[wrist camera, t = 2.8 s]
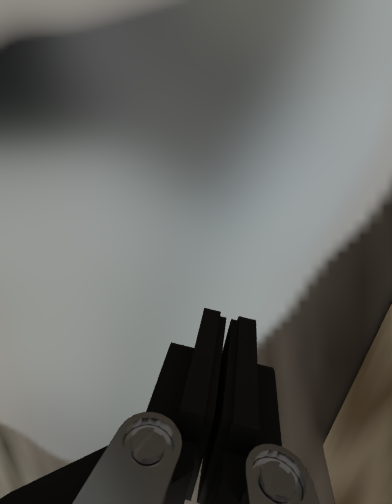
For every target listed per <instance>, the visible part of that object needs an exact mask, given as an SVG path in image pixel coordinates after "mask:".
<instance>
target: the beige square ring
mask: <svg viewBox="0 0 392 504" xmlns="http://www.w3.org/2000/svg"><path fill="white" fill-rule="evenodd" d="M323 449H324V454H325V458H326V463H327V468H328V472H329V477H330V481H331V486H332V490H333V495H334V500H335V504H392V304H391V306H390V308H389V310H388V312H387V314H386V316H385V318H384V320H383V322H382V324H381V327H380V329H379V331H378V333H377V335H376V337H375V339H374V341H373V343H372V345H371V347H370V349H369V351H368V353H367V355H366V358H365V360H364V362H363V364H362V366H361V368H360V370H359V372H358V374H357V376H356V378H355V380H354V382H353V384H352V386H351V388H350V391H349V393H348V395H347V397H346V399H345V401H344V403H343V405H342V407H341V409H340V411H339V413H338V415H337V417H336V419H335V422H334V424H333V426H332V428H331V430H330V432H329V434H328V436H327V438H326V440H325V442H324V444H323Z"/></svg>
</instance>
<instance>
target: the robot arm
mask: <svg viewBox="0 0 392 504" xmlns="http://www.w3.org/2000/svg"><path fill="white" fill-rule="evenodd" d="M220 313H221V312H219V311H215V310H211V309H207V308H204V311H203V316H202V320H201V324H200V328H199V332H198V336H197V340H196V344H195V348H192V347H188V346H184V345H179V344H175V343H171V344H170V347H169V349H168V352H167V355H166V358H165V360H164V363H163V366H162V369H161V372H160V374H159V377H158V380H157V383H156V386H155V389H154V391H153V394H152V397H151V400H150V402H149V405H148V408H147V411H146V412H143V413H139V414H135V415H133V416H132V417H130V418H128V419H127V420H126V421H125V422H124V423H123V424H122V425H121V427H120V428H119V429H118V431H117V433H116V434H115V436H114V438H113V439H112V441H111V442H110V444H109V445H108V446H106V447H104V448H102V449H100V450H98V451H95V452H93V453H91V454H89V455H87V456H85V457H83V458H81V459H79V460H77V461H75V462H73V463H70V464H68V465H66V466H64V467H62V468H60V469H58V470H56V471H54V472H52V473H50V474H48V475H45V476H43V477H41V478H39V479H37V480H35V481H33V482H31V483H29V484H27V485H25V486H23V487H20V488H18V489H16V490H14V491H12V492H10V493H9V494H7V495H5V496H4V497H2V498H1V499H0V504H184V501H185V499H186V500H189V501H191V498H192V494H193V491H194V487H195V484H196V480H197V477H198V473H199V470H200V466H201V463H202V469H201V476H200V483H199V490H198V497H197V503H200V504H319V501H318V498H317V495H316V491H315V488H314V485H313V482H312V479H311V477H310V474H309V472H308V470H307V468H306V467H305V466H304V464H303V463H302V462H301V460H300V459H299V458H298V457H297V456H295V455H294V454H293V453H292V452H291V451H289V450H287V449H285V448H283V447H282V442H281V432H280V422H279V411H278V401H277V391H276V381H275V372H274V369H273V368H271V367H267V366H263V365H259V364H257V335H256V320H252V319H248V318H244V317H240V316H239V317H238V319H237V320H233V319H231V322H230V325H229V329H228V333H227V336H226V340H225V344H224V348H223V341H224V333H225V325H226V318H225V317H221V316H220ZM222 350H223V351H222ZM202 459H203V461H202Z"/></svg>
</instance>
